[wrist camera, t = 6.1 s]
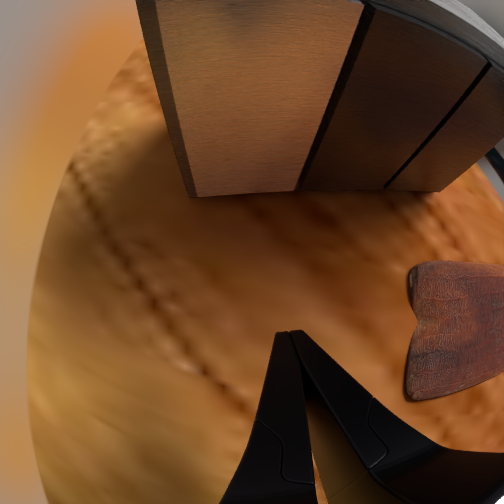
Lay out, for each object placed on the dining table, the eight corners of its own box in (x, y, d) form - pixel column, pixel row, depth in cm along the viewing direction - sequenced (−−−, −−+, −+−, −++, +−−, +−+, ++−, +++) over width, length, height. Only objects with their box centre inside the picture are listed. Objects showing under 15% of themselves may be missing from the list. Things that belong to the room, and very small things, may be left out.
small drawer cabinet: (436, 198, 18) (554, 94, 4) (189, 207, 16) (121, -34, 3) (402, 117, 20) (472, 7, 7) (190, 109, 19) (169, -61, 5)
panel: (293, 190, 16) (364, 4, 5) (197, 197, 15) (154, -3, 4) (274, 101, 18) (299, -43, 7) (198, 104, 18) (183, -43, 6)
